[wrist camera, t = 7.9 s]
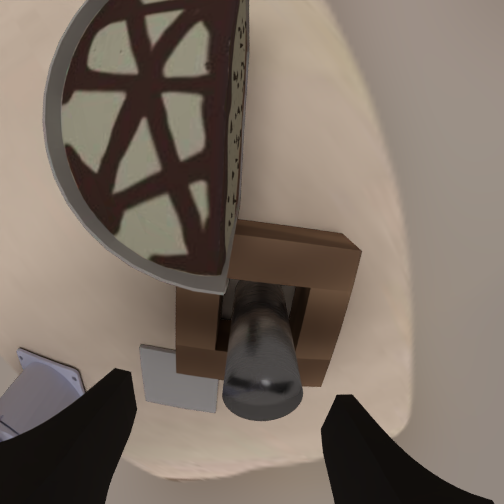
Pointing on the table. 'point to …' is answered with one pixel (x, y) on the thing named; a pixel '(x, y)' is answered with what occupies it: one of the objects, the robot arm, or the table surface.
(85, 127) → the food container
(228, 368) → the peg
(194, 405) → the mat
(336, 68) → the table surface
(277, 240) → the hole block
